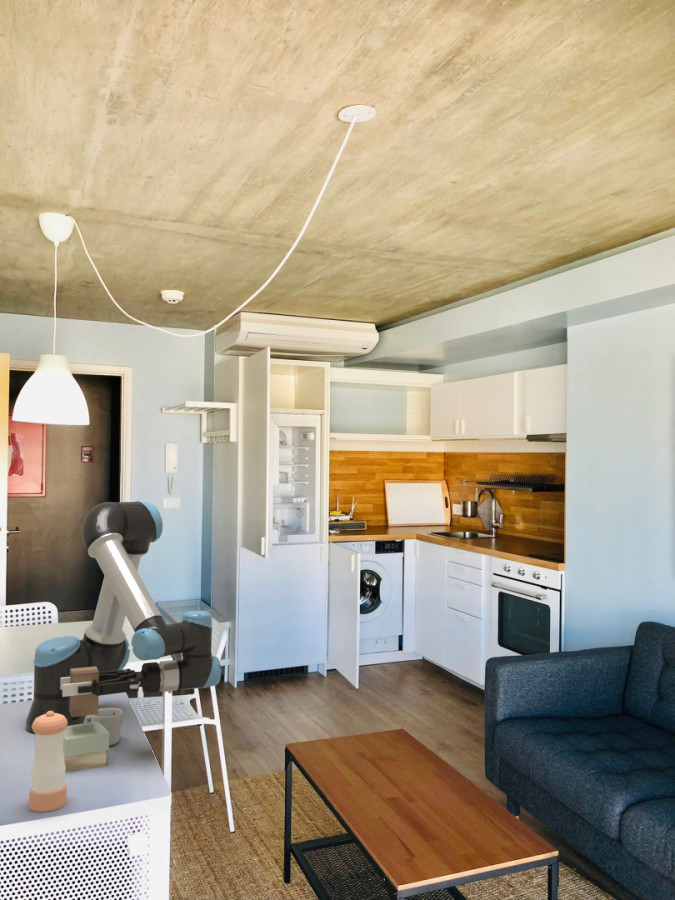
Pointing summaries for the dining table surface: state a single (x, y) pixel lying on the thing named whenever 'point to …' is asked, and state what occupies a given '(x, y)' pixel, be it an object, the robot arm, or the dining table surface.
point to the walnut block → (86, 702)
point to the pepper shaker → (48, 764)
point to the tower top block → (85, 739)
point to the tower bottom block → (85, 761)
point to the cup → (108, 722)
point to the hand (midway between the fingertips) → (61, 687)
